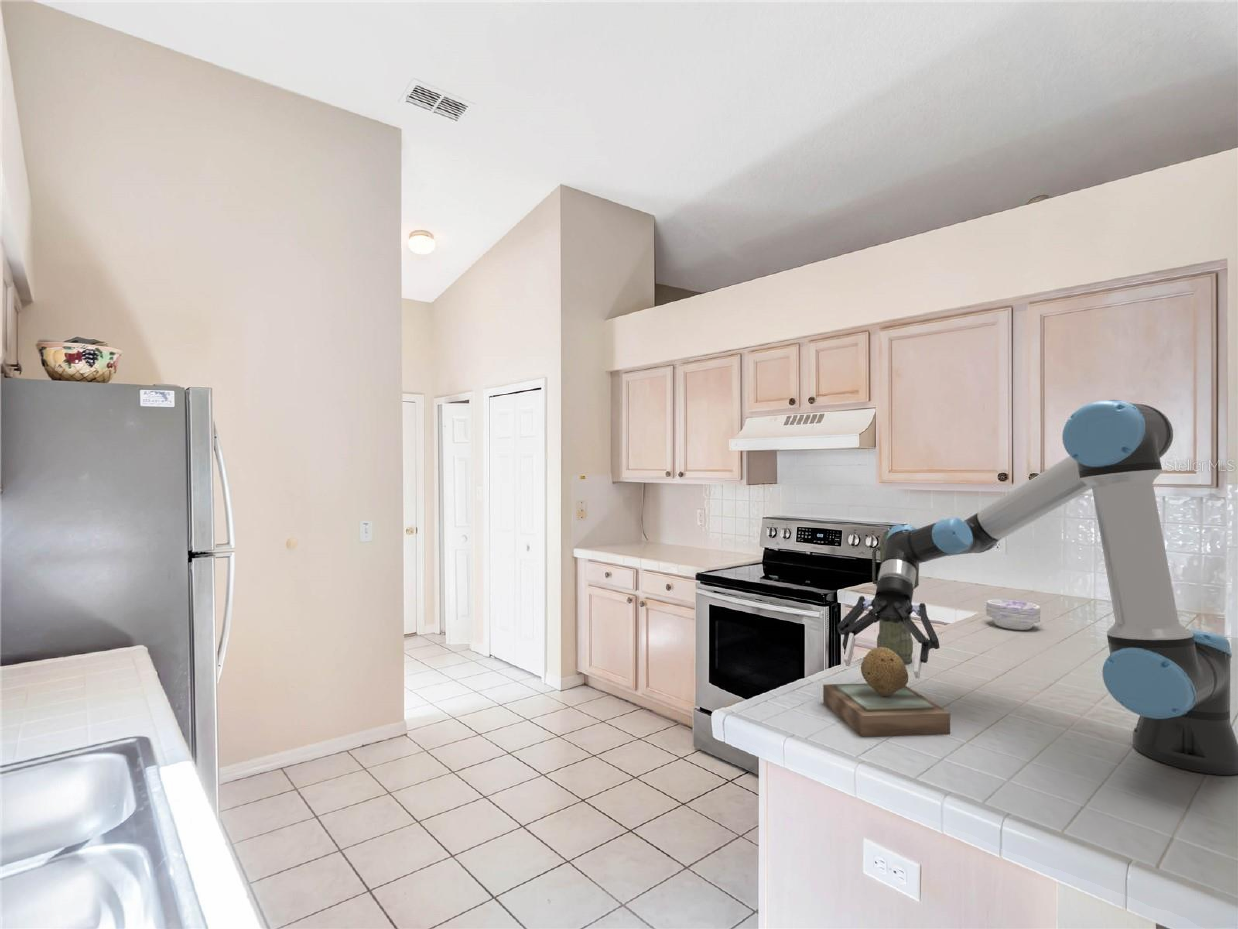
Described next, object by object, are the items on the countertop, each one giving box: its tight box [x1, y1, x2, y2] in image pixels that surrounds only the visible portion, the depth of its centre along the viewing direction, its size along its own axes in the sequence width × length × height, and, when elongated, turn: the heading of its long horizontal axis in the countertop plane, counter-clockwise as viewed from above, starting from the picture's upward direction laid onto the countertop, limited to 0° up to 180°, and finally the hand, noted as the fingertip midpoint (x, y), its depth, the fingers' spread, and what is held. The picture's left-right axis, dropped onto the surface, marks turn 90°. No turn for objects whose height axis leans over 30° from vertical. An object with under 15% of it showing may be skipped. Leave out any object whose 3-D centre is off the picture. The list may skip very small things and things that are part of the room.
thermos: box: [871, 529, 920, 666], centre depth 173 cm, size 9×12×35 cm
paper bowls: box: [985, 599, 1041, 631], centre depth 211 cm, size 15×15×8 cm
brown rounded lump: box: [860, 647, 909, 696], centre depth 133 cm, size 9×9×10 cm
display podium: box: [822, 682, 951, 738], centre depth 133 cm, size 18×18×4 cm
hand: (880, 669), depth 131 cm, fingers open, 13 cm apart
